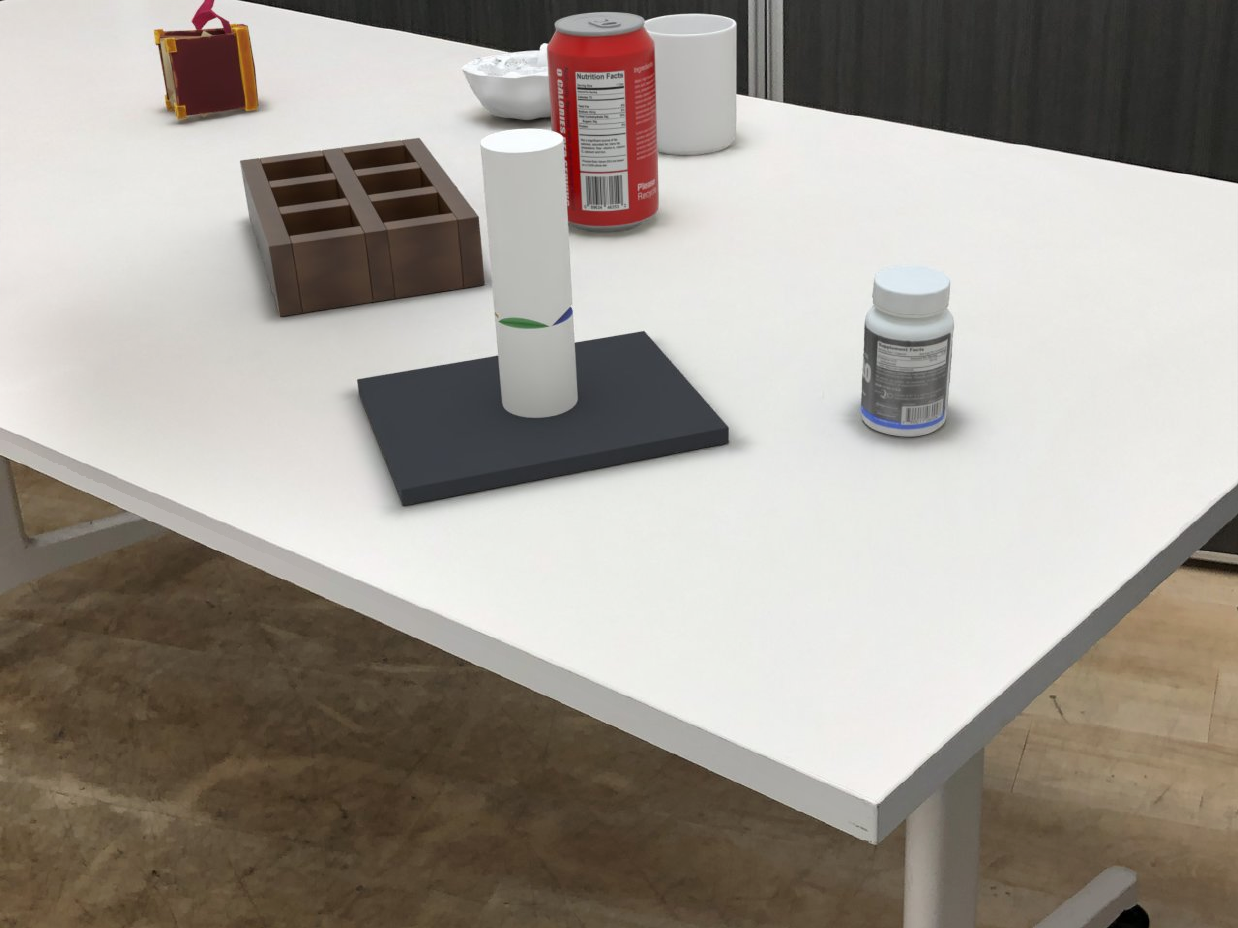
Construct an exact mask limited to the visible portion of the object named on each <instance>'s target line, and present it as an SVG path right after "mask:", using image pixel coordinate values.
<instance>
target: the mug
mask: <svg viewBox="0 0 1238 928" xmlns="http://www.w3.org/2000/svg"><path fill="white" fill-rule="evenodd" d="M644 27H645V29H646V31H647V32H648V34H649V35H650V36H651V38H652V39H653V41H654V44H655V69H656V109H657V148H658V153H662V154H665V155H666V154H667V155H675V156H698V155H699V156H700V155H707V154H711V153H716V152H719V151H722V150H725V149H727V148H728V147H730V146H731V145H732V144H733V143H734V141H735V139H736V134H737V36H738V35H737V34H738V33H737V27H738V26H737V21H736V20H735V19H733V18H730V17H727V16H723V15H717V14H710V13H709V14H708V13H679V14H668V15H663V16H662V15H661V16H657V17H653V18H650V19H649V18H648V19H646V20H645V24H644Z"/></svg>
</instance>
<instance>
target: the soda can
mask: <svg viewBox="0 0 1238 928" xmlns="http://www.w3.org/2000/svg"><path fill="white" fill-rule="evenodd" d="M645 21H646V20H645V18H644V17H642V16H641V15H638V14H633V13H628V12H618V11H599V12H586V13H585V12H584V13H578V14H573V15H568V16H565V17H561V18H560V19H557V20H556V21H555V22H554V29H555V30H554V33H553V35H552V37H551V39H550V40H549V42H548V43H547V44H548V45H547V64H548V80H549V96H550V113H551V117H550V129H551V131H554V132H557V133H559V134H560V135H562V136H563V142H564V160H565V178H566V196H567V214H568V224H570V225H572V226H574V227H576V228H577V229H579V230H583V231H585V232H586V231H587V232H594V233H616V232H622V231H623V232H624V231H627V230H631V229H633V228H636V227H638V226H640V225H642V224H643V223H644V222H646V221H648V220H650V219H651V218H652V217H654V216H655V215H656V214H657V212H658V210H659V204H660V199H659V198H660V197H659V196H660V191H659V152H658V148H657V109H656V69H655V44H654V41H653V39H652V38H651V36H650V35H649V34H648V32H647V31H646V29H645V27H644V24H645Z"/></svg>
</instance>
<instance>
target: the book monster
mask: <svg viewBox="0 0 1238 928" xmlns="http://www.w3.org/2000/svg"><path fill="white" fill-rule="evenodd" d="M214 4H215V0H204V1H203V2H202V4H201V5H200V6H199V7H198V9H197V10H196V11H195V13H194V15H193V17H192V19H191V21H190V22H191V23H192V25H193V26H194V28H195V29H193V30H191V29H190V30H164V29H163V28H157V29H153V35H154V44H155V46H157V48H158V54H159V59H160V64H161V70H162V76H163V81H164V88H165V94H164V102H165V106H166V110H167V112H170V111H174V113H175V117H176V119H177V120H186V119H187V118H188V117H189V116H197V115H201V116H202V118H203V119H204V118H205V117H207V116H209V115H210V114H213V113H222V112H228V111H232V110H240V109H242V110H244V111H246V112H250V111H255V110H259V96H258V84H257V74H256V65H255V59H254V53H253V48H252V41H251V36H250V30H249V25H247V24H244V23H230V21H229V20H227V19H225V18H224V17H222V16H220V15H219V14H217V13H216V12H215V11H213V10H212V9H213V8H214ZM216 18H217V19H218V20H219V21H220V23H221V25H222V27H215V28H204V27H205V26H206V24H207V23H208V22H209V21H212V20H214V19H216ZM203 28H204V29H203Z"/></svg>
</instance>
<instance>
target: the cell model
mask: <svg viewBox="0 0 1238 928" xmlns="http://www.w3.org/2000/svg"><path fill="white" fill-rule="evenodd" d="M548 44H549V43H546V42H544V43H542V44H540V47H539V50H525V51H515V52H508V53H501V54H494V55H487V56H482V57H476V58H475V59H472V60H471V61H469V62H467V63H465V64H463V65H462V66H461V70H462V72H463V75H464V76H465V79H466V81H467V83H468V85H469V87H470V89H471V91H472V93H473V94H474V96H475V97H476V99H477V100H478V101H479V103H480V105H481V106H482V107H483V108H484V109H485V110H486V112H488V113H489V114H491V115H492V116H496V117H499V118H504V119H515V120H521V121H533V120H536V119H542V118H544V119H547V118H551V113H550V96H549V80H548V64H547V45H548Z"/></svg>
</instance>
